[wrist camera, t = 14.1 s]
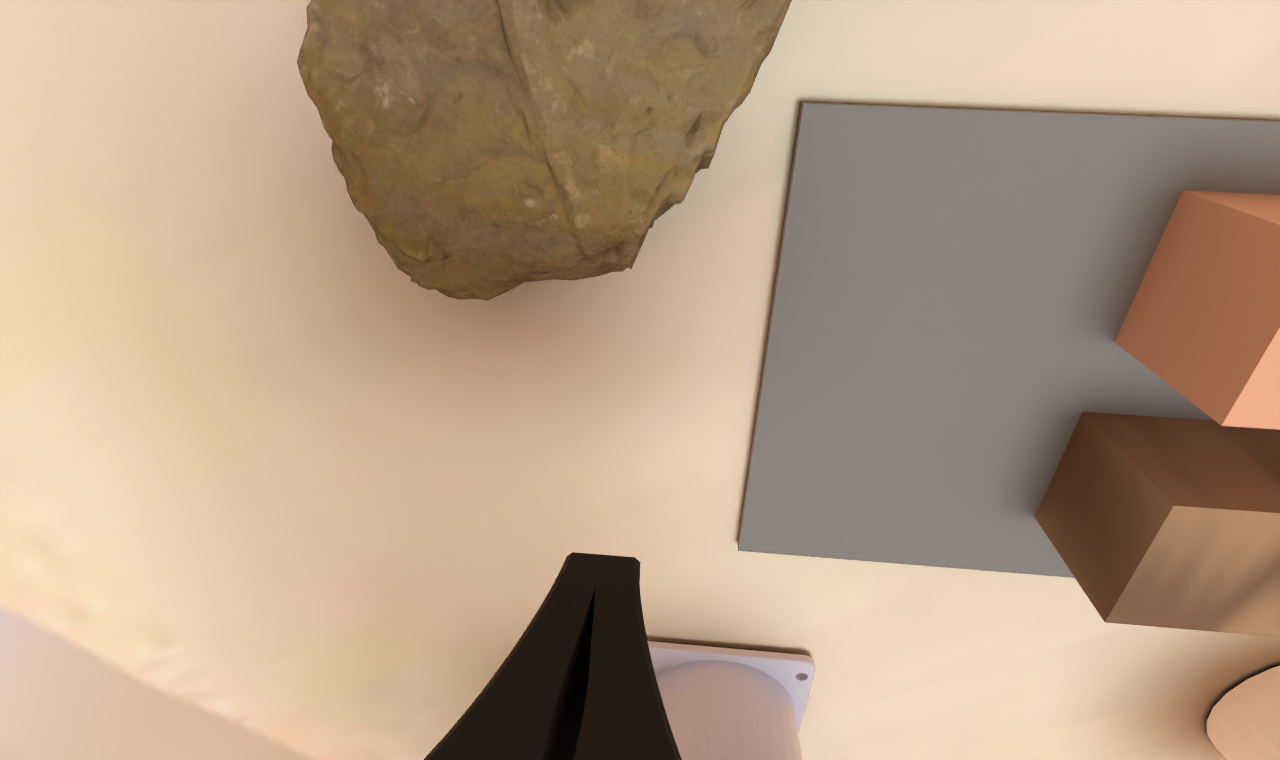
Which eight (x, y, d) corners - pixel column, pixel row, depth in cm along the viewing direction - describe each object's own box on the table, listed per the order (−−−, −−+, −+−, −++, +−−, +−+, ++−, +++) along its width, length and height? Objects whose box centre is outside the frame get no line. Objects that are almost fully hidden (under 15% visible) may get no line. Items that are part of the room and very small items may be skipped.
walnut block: (1034, 517, 22) (1264, 534, 22) (1104, 622, 19) (1385, 645, 18) (1082, 411, 20) (1340, 428, 20) (1173, 505, 16) (1497, 529, 16)
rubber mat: (1272, 585, 24) (1281, 594, 23) (737, 543, 25) (738, 550, 24) (1616, 133, 16) (1636, 136, 15) (801, 101, 17) (803, 103, 16)
